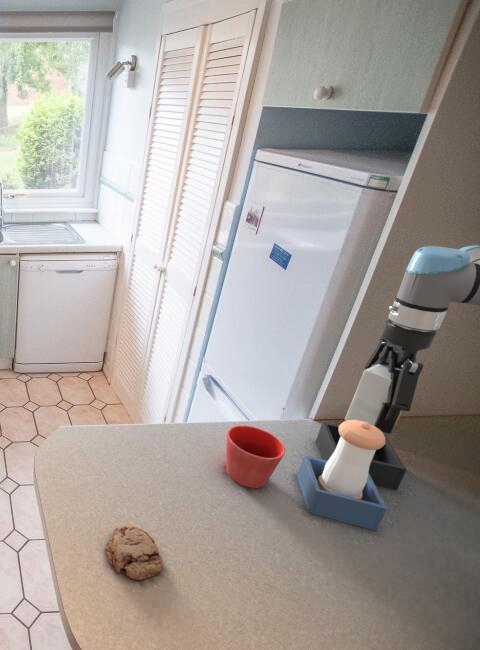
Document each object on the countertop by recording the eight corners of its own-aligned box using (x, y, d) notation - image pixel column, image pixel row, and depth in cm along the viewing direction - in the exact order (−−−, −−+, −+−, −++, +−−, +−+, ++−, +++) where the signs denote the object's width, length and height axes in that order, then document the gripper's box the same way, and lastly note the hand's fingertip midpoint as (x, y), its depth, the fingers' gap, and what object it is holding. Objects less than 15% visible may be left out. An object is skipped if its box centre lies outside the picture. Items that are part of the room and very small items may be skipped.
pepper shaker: (327, 481, 98) (357, 408, 90) (365, 506, 92) (400, 429, 84) (305, 491, 95) (333, 416, 88) (342, 517, 89) (376, 439, 82)
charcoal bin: (377, 454, 107) (385, 435, 104) (396, 490, 97) (406, 469, 94) (315, 441, 111) (322, 422, 109) (328, 474, 101) (336, 453, 99)
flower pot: (225, 489, 97) (236, 453, 93) (213, 455, 107) (222, 421, 103) (281, 498, 95) (294, 462, 91) (263, 462, 105) (274, 428, 101)
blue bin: (358, 491, 97) (367, 469, 94) (376, 531, 87) (387, 508, 85) (296, 475, 101) (304, 455, 98) (307, 512, 91) (316, 490, 89)
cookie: (155, 534, 87) (157, 523, 86) (166, 586, 77) (169, 574, 76) (101, 527, 89) (103, 516, 87) (106, 577, 79) (108, 565, 78)
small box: (377, 436, 95) (400, 384, 90) (343, 420, 100) (363, 369, 95) (397, 425, 98) (420, 374, 93) (363, 410, 104) (383, 360, 98)
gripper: (369, 302, 101) (337, 386, 110) (410, 345, 82) (368, 443, 91) (412, 307, 98) (376, 393, 107) (465, 353, 79) (416, 454, 88)
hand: (372, 416), depth 99 cm, fingers closed on small box, 10 cm apart
